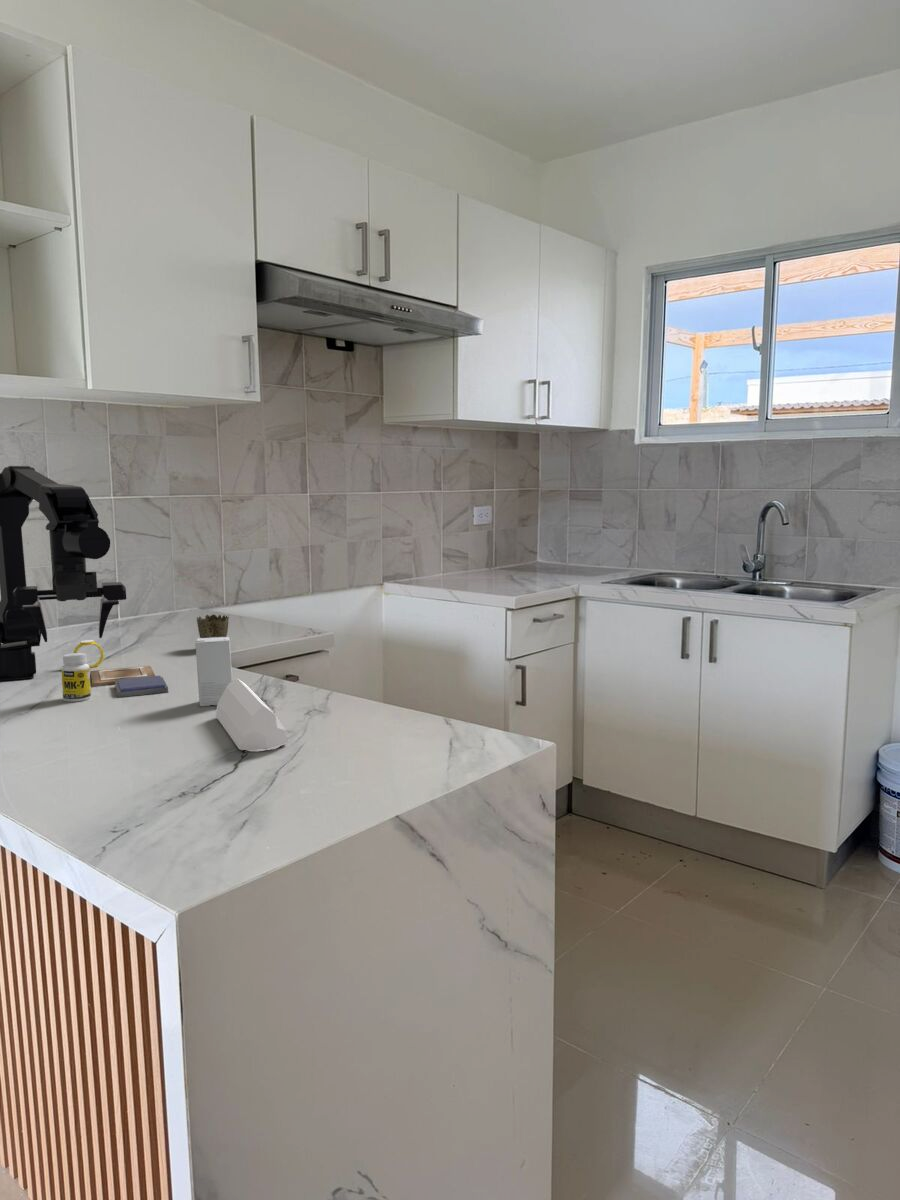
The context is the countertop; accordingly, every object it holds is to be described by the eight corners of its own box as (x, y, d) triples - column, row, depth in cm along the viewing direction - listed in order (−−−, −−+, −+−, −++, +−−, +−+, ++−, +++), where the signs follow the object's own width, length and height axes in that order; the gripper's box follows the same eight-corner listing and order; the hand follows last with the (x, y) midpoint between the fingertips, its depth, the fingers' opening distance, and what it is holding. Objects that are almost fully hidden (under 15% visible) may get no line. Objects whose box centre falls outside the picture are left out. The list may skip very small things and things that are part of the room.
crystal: (201, 696, 144) (228, 734, 123) (237, 672, 146) (270, 705, 125) (225, 729, 147) (255, 772, 125) (259, 705, 149) (295, 743, 127)
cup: (210, 653, 196) (209, 620, 195) (191, 649, 201) (190, 617, 200) (236, 648, 202) (235, 616, 201) (217, 645, 207) (215, 613, 205)
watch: (76, 671, 180) (72, 644, 179) (74, 668, 182) (70, 642, 181) (105, 666, 183) (102, 639, 182) (103, 663, 185) (99, 637, 184)
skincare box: (233, 699, 156) (231, 635, 154) (233, 705, 152) (230, 640, 150) (199, 701, 155) (196, 637, 153) (198, 707, 150) (195, 641, 149)
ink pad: (118, 697, 157) (117, 689, 157) (115, 686, 165) (114, 679, 165) (168, 692, 161) (167, 684, 161) (162, 682, 169) (162, 674, 169)
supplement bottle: (61, 703, 153) (58, 658, 152) (65, 696, 158) (62, 653, 157) (89, 701, 155) (86, 656, 153) (92, 695, 159) (90, 651, 158)
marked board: (92, 686, 166) (92, 682, 165) (90, 673, 176) (90, 669, 176) (156, 680, 171) (156, 676, 170) (150, 668, 181) (150, 664, 181)
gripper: (8, 561, 141) (15, 652, 143) (126, 557, 149) (131, 643, 151) (11, 556, 151) (17, 640, 153) (121, 552, 159) (126, 633, 161)
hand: (73, 639), depth 155 cm, fingers open, 9 cm apart
